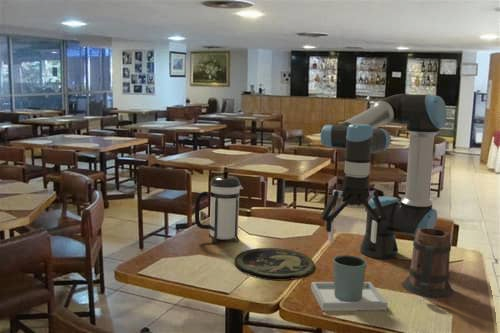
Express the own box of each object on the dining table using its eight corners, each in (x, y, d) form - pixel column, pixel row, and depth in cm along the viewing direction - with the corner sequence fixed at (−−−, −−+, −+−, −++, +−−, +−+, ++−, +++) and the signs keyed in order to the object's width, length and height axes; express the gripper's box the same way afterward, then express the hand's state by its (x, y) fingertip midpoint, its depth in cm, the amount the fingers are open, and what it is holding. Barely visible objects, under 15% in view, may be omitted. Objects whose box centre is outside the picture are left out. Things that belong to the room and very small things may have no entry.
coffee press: (219, 231, 225) (221, 165, 220) (247, 238, 216) (250, 170, 211) (193, 240, 211) (194, 170, 206) (222, 248, 202) (224, 176, 197)
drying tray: (369, 288, 167) (370, 281, 167) (386, 310, 151) (387, 302, 151) (311, 289, 165) (311, 281, 165) (322, 311, 149) (323, 303, 149)
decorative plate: (226, 270, 175) (243, 243, 204) (225, 275, 175) (243, 248, 204) (311, 280, 169) (317, 251, 198) (311, 285, 170) (317, 256, 199)
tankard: (405, 274, 181) (410, 221, 178) (455, 284, 174) (461, 229, 171) (395, 299, 160) (400, 239, 157) (451, 310, 153) (458, 248, 150)
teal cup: (366, 304, 153) (369, 266, 151) (333, 302, 153) (336, 265, 151) (359, 290, 163) (362, 255, 161) (329, 289, 163) (331, 254, 161)
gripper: (391, 173, 156) (386, 237, 160) (313, 172, 154) (310, 237, 158) (400, 177, 149) (395, 245, 153) (319, 176, 147) (315, 245, 150)
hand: (351, 241), depth 155 cm, fingers open, 13 cm apart
